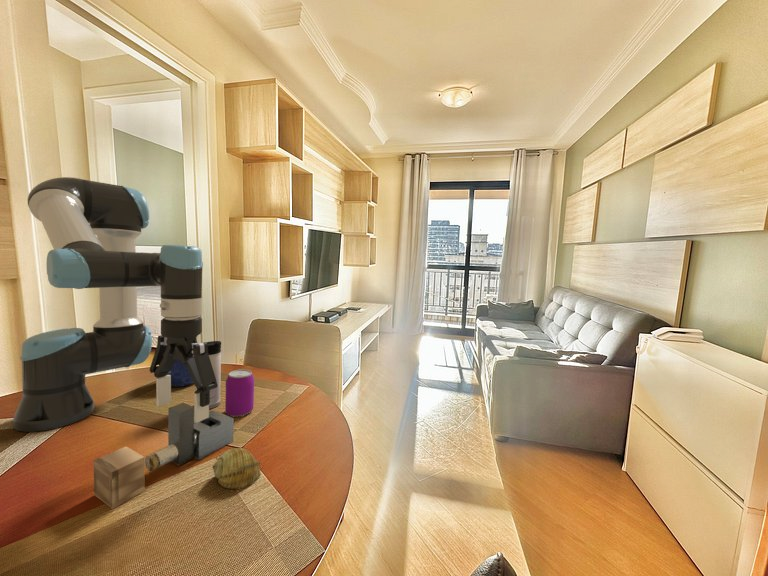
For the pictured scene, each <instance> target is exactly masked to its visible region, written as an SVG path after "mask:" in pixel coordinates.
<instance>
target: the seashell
mask: <svg viewBox="0 0 768 576" xmlns="http://www.w3.org/2000/svg"><path fill="white" fill-rule="evenodd" d="M260 465H261V463H260V461H258V460H257V459H256V457H255V456H254V455H253V453H251V451H249V450H247V449H245V448H241V447H234V448H231V449H228V450H226V451H224V452H223V453H222V454H220V456H219V457H218V458H217V461H215V462H214V464H213V465H212V470H213V475H214V477H215V478H216V479H218V481H217V482H218V484H219V485H220V486H221V487H224V489H229V490H240V489H244V488H246V487H249V486H251V485H253V484H255V482H256V481H258V479H259V478H260V477H261V466H260Z"/></svg>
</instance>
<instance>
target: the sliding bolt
mask: <svg viewBox="0 0 768 576" xmlns="http://www.w3.org/2000/svg"><path fill="white" fill-rule="evenodd" d="M167 411H168V413H167V414H168V416H167V418H168V427H167V429H168V432H167V433H168V434H167V435H168V444H167V446H165V447H163V448H161V449H159V450H156V451H155V452H153V453H150V454H148V455H146V456H144V467H145V468H146V469H147V471H149V472H153V471H155V470H157V469H158V468H161V467H163V466H165V465H166V464H168V463H170V462H172V463H173V464H175V465H177V466H181V465H183V464H186V463H187V462H188V461H190V460H192V459H195V458H194V449H195V448H196V434H197V433H194V405H193V406H192V405H190V404H188V403H185V402H180V403H178V404H176V405H173V406H171V407H168V409H167ZM216 424H218V423H216ZM216 424H213V425H211V426H214V425H216ZM211 426H210V427H211Z"/></svg>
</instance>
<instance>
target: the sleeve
mask: <svg viewBox="0 0 768 576" xmlns="http://www.w3.org/2000/svg"><path fill="white" fill-rule="evenodd" d="M234 420H235V417H232V416H229V415H228V414H224V413H222V412H219V411H216V410H211V411H210V410H209V418H206V419H204V420H202V421H200V422H197V423H196V422H194V433H197V434H196V448H195V449H194V458H193V459H195V460H197V461H200V460H202V459H204V458H206V457H207V456H209V455H211V454H213V453H214V452H216V451H219V450H220V449H222V448H223V447H226V446H227V445H229V444H231V443H233V442H234V426H235V425H234V423H235V421H234ZM216 423H218V424H216ZM213 424H216V425H214V426H211V425H213ZM210 426H211V427H210ZM230 442H231V443H230Z"/></svg>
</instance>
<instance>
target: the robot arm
mask: <svg viewBox="0 0 768 576" xmlns="http://www.w3.org/2000/svg"><path fill="white" fill-rule="evenodd" d="M27 206H28V208H29V209H28V210H29V211H30V213H31V214H32V216H33V217H34V218H35V219H36V220H37V221H40V222H41V223H42V226H43V229H44V230H45V232H46V235H47V237H48V239H49V242H50V244H51V247H52V249H50V250H49V251H48V253H47V255H46V275H47V281H48V283H49V285H51V286H52V287H54V288H57V289H76V290H82V289H96V288H97V289H98V295H99V296H98V299H99V301H98V302H99V319H98V320H97V321H96V322H94V324H93V325H92V328H93V329H92V331H91V332H86V331H85V330H84V328H80V327H72V328H62V329H61V328H60V329H59V328H58V329H55V330H54V329H53V330H50V331H46V332H41V333H38V334H35V335H32V336H30V337H28V338H26V339H25V340H24V341H23V342H22V344H21V352H20V353H21V354H20V355H21V356H20V357H19V358H20V361H21V375H22V379H21V380H22V381H21V382H22V395H21V396H22V397H21V399H20V402H19V404H18V406H17V408H16V411H15V413H14V416H13V419H12V422H13V423H12V425H13V426H12V427H13V428H14V430H15V431H17V432H27V433H29V432H32V433H34V432H42V431H43V432H44V431H49V430H54V429H57V428H61V427H65V426H68V425H71V424H74V423H77V422H79V421H82V420H83V419H85V418H88V417H89V416H91V415H92V414H93V413H94V412H95V400H94V398H93V396H92V395H91V393H90V391H89V388H88V386H87V385H86V384H87V383H86V375H90V374H94V373H100V372H101V373H102V372H105V371H112V370H116V369H117V370H118V369H121V368H122V369H123V368H129V367H131V366H135V365H136V366H137V365H140V364H143V363H144V362H145V361H146V360H147V359H148V358H149V356H150V354H151V351H152V346H153V335H152V330H151V328H150V327H148V326H147V325H145V324H144V320H143V319H141V318H140V317H138V300H137V299H138V298H137V297H138V295H137V294H138V293H137V288H138V287H139V288H140V287H142V288H143V287H160V304H159V307H160V316H161V317H163V318H162V319H161V320H160V335H158V336H157V341H156V342H157V345H156V348H155V350H154V354H153V357H152V360H151V363H150V367H149V373H150V374H153V375H154V378H156V380H155V381H156V383H155V384H156V391H155V392H156V407H159V408H160V407H162V406H165V405H168V404H171V403H172V386H171V375H166V374H170V372H171V371H170V370H171V368H172V366H173V365H174V363H175V362H176V360H177V359H178V360H179V361H181V362H182V364H183V365H186V367H187V369H188V371H189V373H190V375H191V378H192V380H193V382H194V383H193V385H194V386H195V388H196V390H195V391H194V393H193V395H194V399H193V400H194V405H193V407H194V422H196V423H197V422H200V421H202V420H204V419H206V418H209V412H210V409H209V403H210V390H211V389H214V388H217V386H218V384H217V381H216V378H215V374H214V371H213V368H212V364H211V361H210V358H209V354H208V345H207V343H206V341H205V342H200V343H199V342H198V339H197V338H198V336H199V335H201V334H202V332H203V327H202V326H203V318H201V317H200V316H201V315H203V267H204V263H203V255H202V254H203V252H202V250H201V248H200V247H199V246H193V245H179V244H178V245H177V244H164V245H162V246H161V247H160V252H136V239H137V237H139V236H140V235H142V230H144V229H146V228H147V227H148V226H149V221H150V210H149V205H148V202H147V200H146V198H145V196H144V195H143V193H142V192H141V191H140V190H138V189H134V188H130V187H127V186H124V185H117V184H111V183H105V182H100V181H93V180H89V179H88V180H87V179H82V178H78V177H71V176H67V177H66V176H65V177H64V176H63V177H55V178H50V179H47V180H45V181H43V182H40V183H38V184H37V185H36V186H34V187H32V189H31V190H30V192H29V193H28V196H27ZM193 355H194V357H193ZM192 357H193V358H192ZM201 384H202V385H201Z"/></svg>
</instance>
